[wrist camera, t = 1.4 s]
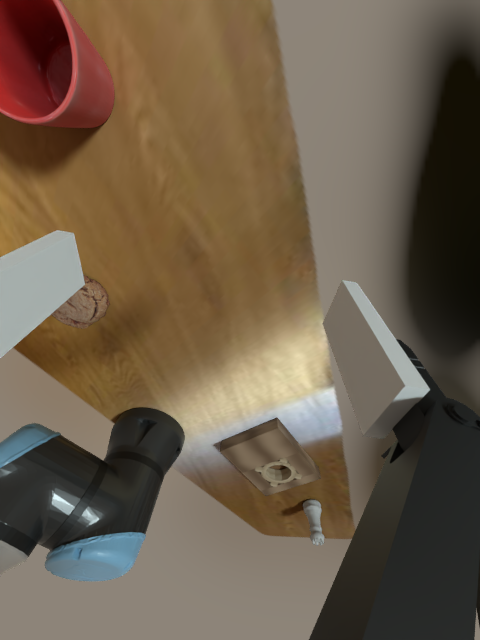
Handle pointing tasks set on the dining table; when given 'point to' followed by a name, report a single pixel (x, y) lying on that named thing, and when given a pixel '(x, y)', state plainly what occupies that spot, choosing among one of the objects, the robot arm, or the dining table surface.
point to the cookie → (84, 305)
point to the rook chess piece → (314, 520)
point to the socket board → (270, 457)
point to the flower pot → (50, 68)
